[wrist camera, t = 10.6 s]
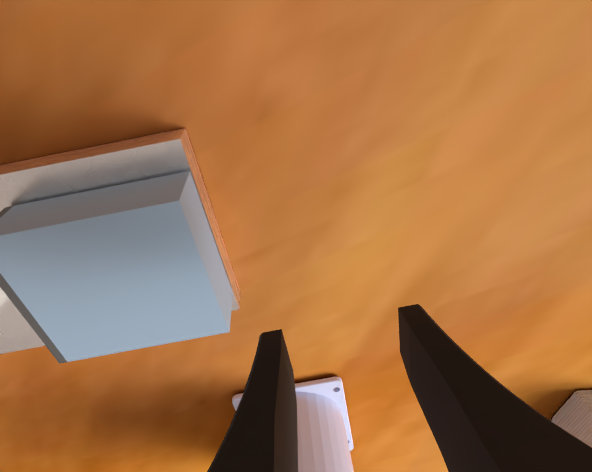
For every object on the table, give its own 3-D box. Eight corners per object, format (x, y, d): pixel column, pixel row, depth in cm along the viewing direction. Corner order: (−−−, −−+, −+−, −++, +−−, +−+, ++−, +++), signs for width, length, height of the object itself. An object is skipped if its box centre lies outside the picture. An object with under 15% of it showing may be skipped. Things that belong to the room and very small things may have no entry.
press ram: (232, 293, 21) (229, 331, 19) (81, 321, 21) (59, 363, 19) (189, 171, 17) (179, 200, 15) (5, 207, 17) (-35, 242, 15)
